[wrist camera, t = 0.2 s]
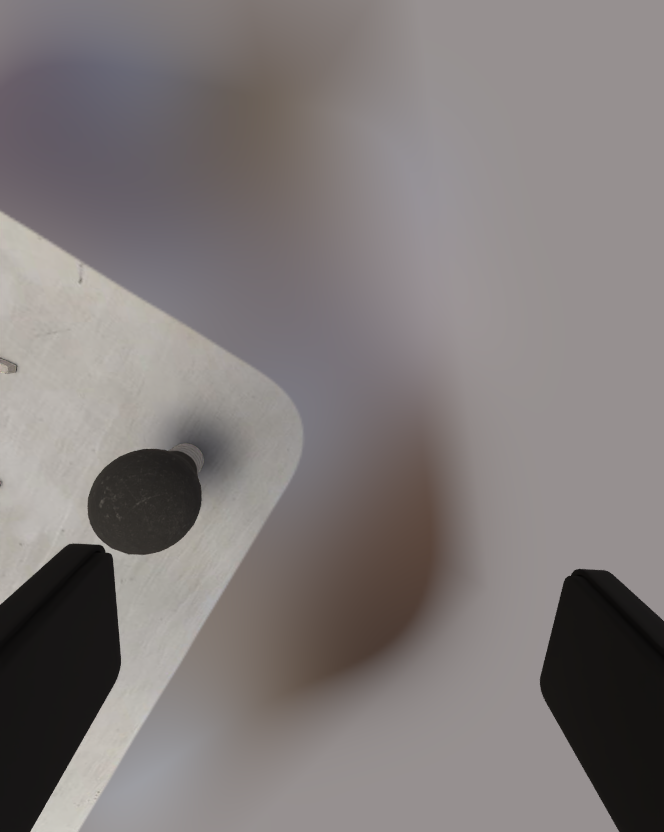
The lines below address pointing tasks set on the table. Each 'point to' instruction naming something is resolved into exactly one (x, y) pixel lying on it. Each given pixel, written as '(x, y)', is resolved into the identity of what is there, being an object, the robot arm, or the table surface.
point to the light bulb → (147, 499)
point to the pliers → (7, 368)
